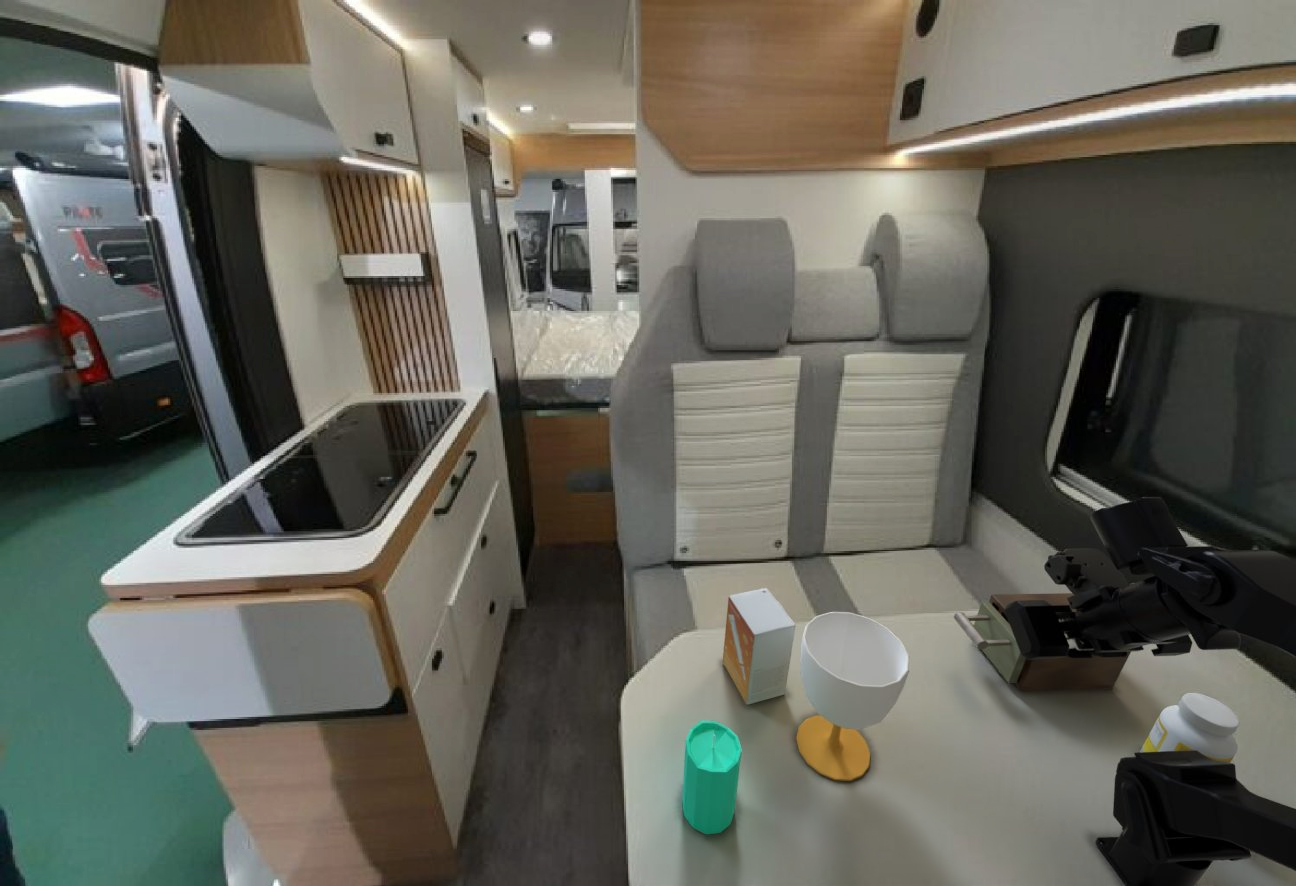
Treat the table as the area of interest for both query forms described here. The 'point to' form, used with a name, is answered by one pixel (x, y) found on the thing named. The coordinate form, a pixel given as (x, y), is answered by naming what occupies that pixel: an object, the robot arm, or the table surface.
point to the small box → (758, 645)
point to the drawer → (994, 640)
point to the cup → (847, 689)
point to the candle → (710, 776)
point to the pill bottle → (1195, 728)
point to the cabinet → (1063, 658)
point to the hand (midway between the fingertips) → (1047, 642)
